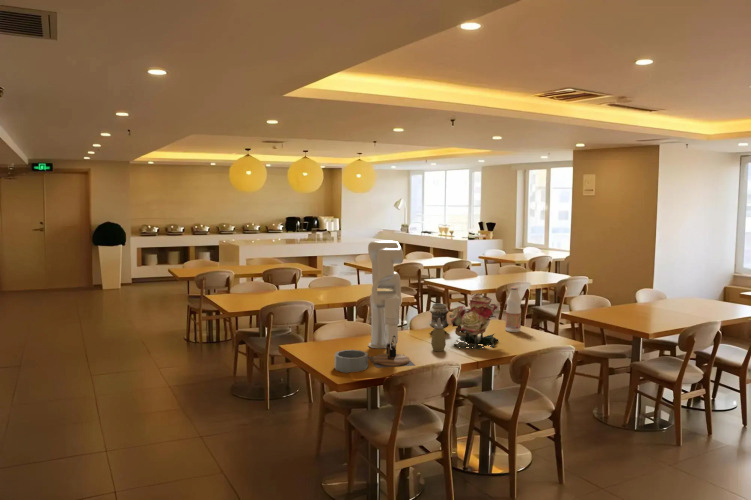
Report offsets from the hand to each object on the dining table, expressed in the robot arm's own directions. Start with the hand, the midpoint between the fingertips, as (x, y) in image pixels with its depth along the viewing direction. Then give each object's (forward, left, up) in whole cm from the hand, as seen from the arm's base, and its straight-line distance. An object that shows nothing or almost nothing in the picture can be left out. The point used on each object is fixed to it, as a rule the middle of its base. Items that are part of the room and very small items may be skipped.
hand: (391, 355), depth 293 cm
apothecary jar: (-57, +47, -4) cm, 74 cm away
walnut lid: (0, 0, -3) cm, 3 cm away
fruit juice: (-53, +96, -4) cm, 110 cm away
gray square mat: (0, 0, -4) cm, 4 cm away
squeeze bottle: (-17, +32, -4) cm, 36 cm away
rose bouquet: (-25, +57, -4) cm, 62 cm away
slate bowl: (+6, -22, -4) cm, 23 cm away
